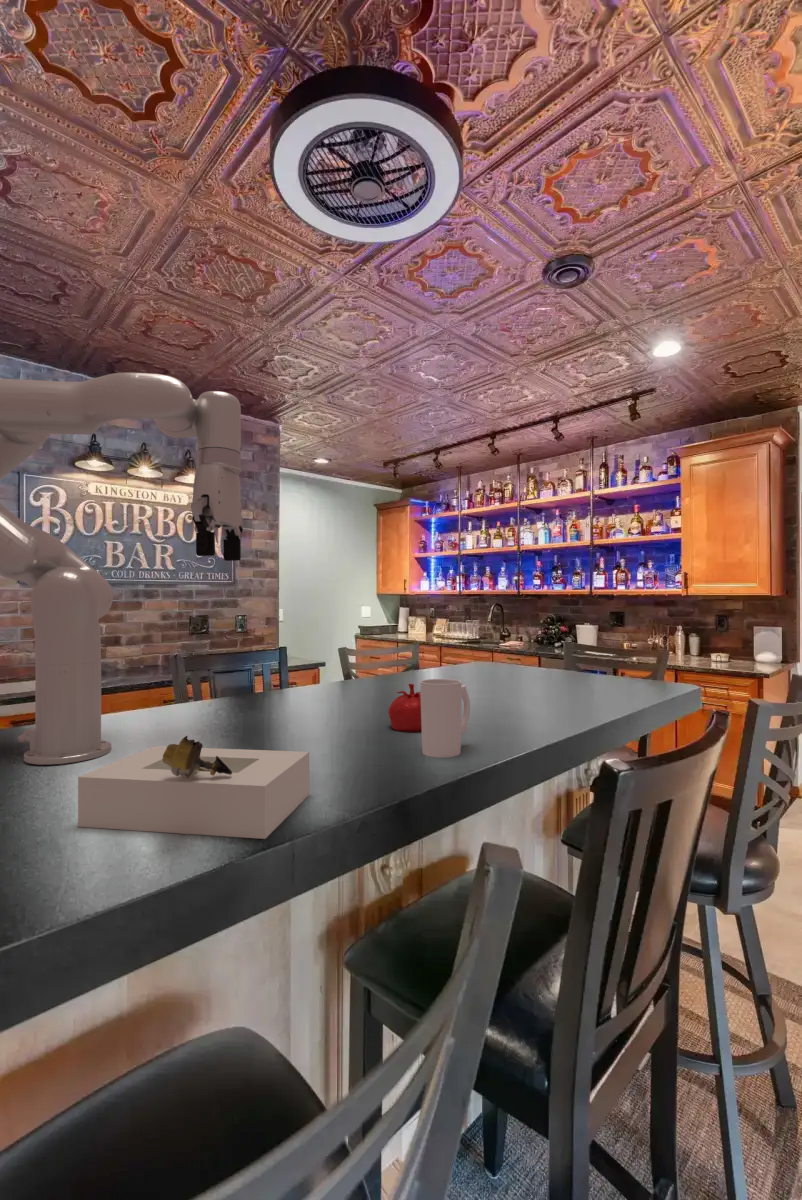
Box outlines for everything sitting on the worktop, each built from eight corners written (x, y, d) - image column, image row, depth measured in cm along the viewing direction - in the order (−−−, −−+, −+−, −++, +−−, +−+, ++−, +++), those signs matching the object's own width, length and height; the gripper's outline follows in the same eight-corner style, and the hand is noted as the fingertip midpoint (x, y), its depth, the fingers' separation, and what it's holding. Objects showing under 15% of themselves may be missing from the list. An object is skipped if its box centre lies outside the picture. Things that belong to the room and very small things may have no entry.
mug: (440, 762, 86) (439, 685, 86) (412, 754, 92) (411, 681, 92) (484, 751, 93) (483, 679, 93) (455, 744, 98) (455, 676, 98)
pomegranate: (433, 738, 103) (433, 688, 103) (382, 735, 106) (381, 686, 106) (444, 727, 112) (443, 681, 113) (396, 724, 115) (396, 679, 115)
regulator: (185, 782, 69) (140, 762, 55) (198, 751, 71) (157, 724, 57) (242, 799, 69) (211, 783, 55) (254, 767, 70) (227, 744, 57)
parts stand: (78, 826, 62) (78, 777, 62) (154, 786, 76) (154, 746, 76) (265, 838, 58) (265, 786, 58) (309, 794, 72) (309, 751, 72)
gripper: (223, 475, 110) (223, 562, 109) (172, 451, 93) (172, 554, 92) (258, 474, 108) (259, 561, 108) (214, 449, 91) (215, 553, 91)
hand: (219, 558), depth 100 cm, fingers open, 9 cm apart
